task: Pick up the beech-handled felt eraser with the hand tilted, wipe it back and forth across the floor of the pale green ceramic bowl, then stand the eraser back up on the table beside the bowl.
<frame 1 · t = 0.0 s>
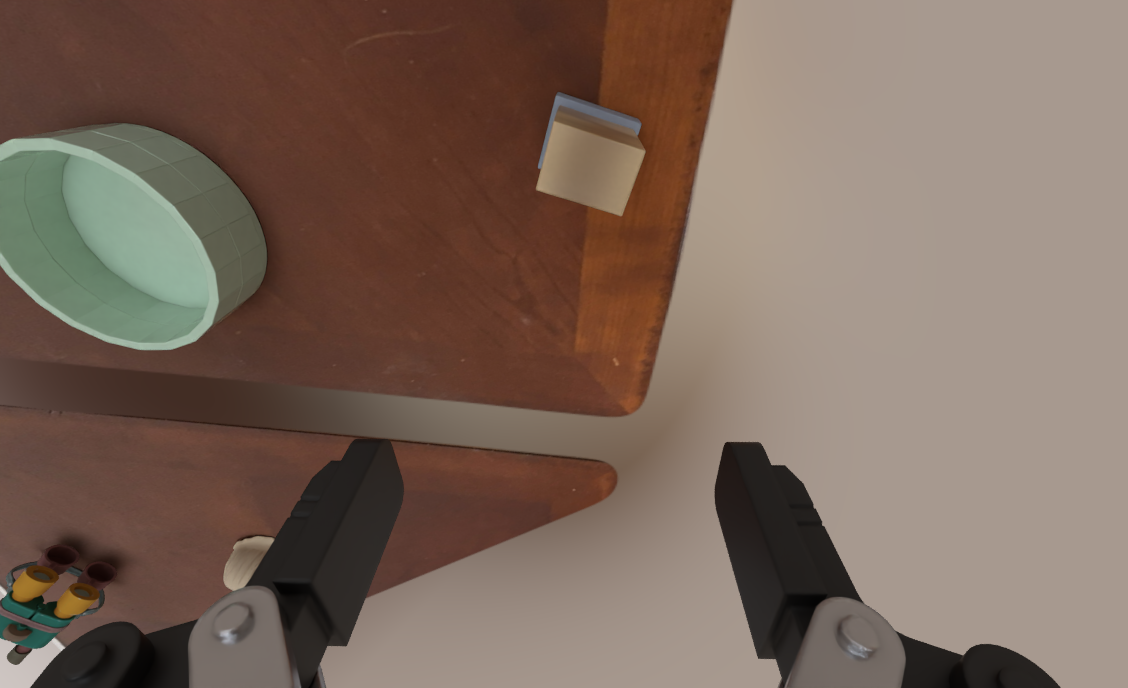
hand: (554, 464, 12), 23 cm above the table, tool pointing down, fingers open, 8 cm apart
binoculars: (90, 555, 55), on the table
decorative ornament: (275, 547, 53), on the table
eraser: (588, 140, 29), on the table
bowl: (168, 227, 33), on the table
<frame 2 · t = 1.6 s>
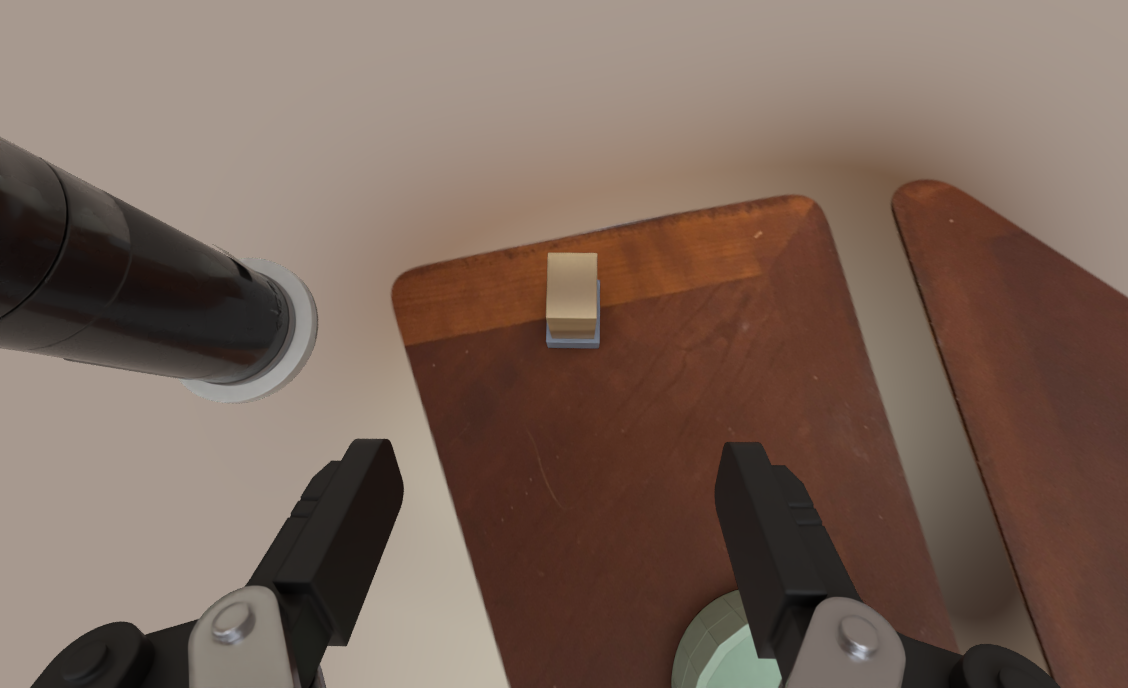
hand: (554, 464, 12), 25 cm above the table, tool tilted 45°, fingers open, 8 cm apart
eraser: (573, 317, 38), on the table
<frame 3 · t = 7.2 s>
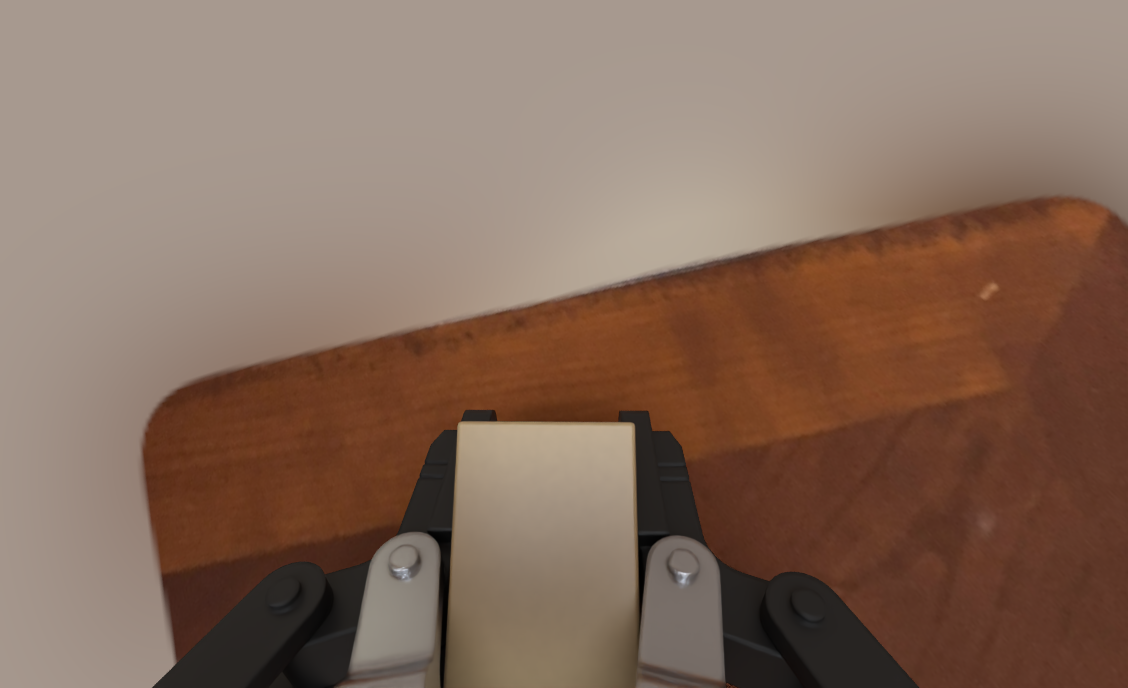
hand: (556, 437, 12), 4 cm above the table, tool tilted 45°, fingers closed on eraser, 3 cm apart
eraser: (563, 500, 16), on the table, touching gripper
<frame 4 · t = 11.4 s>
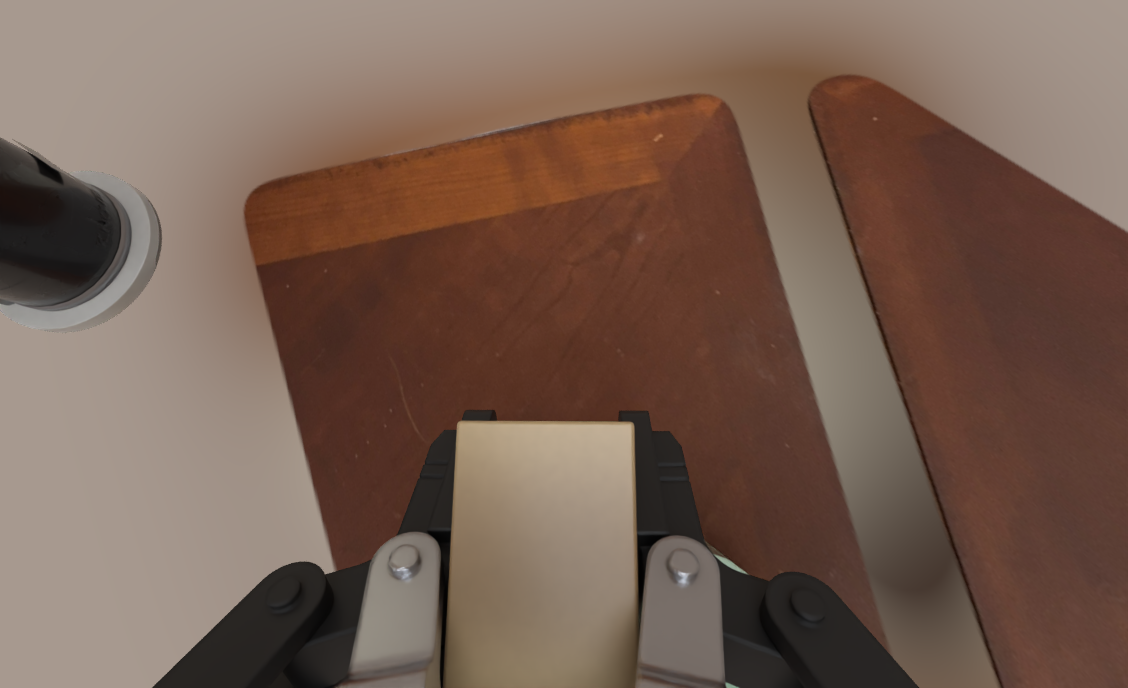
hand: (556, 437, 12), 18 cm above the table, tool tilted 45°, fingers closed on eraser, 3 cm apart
eraser: (563, 500, 16), point 14 cm above the table, touching gripper
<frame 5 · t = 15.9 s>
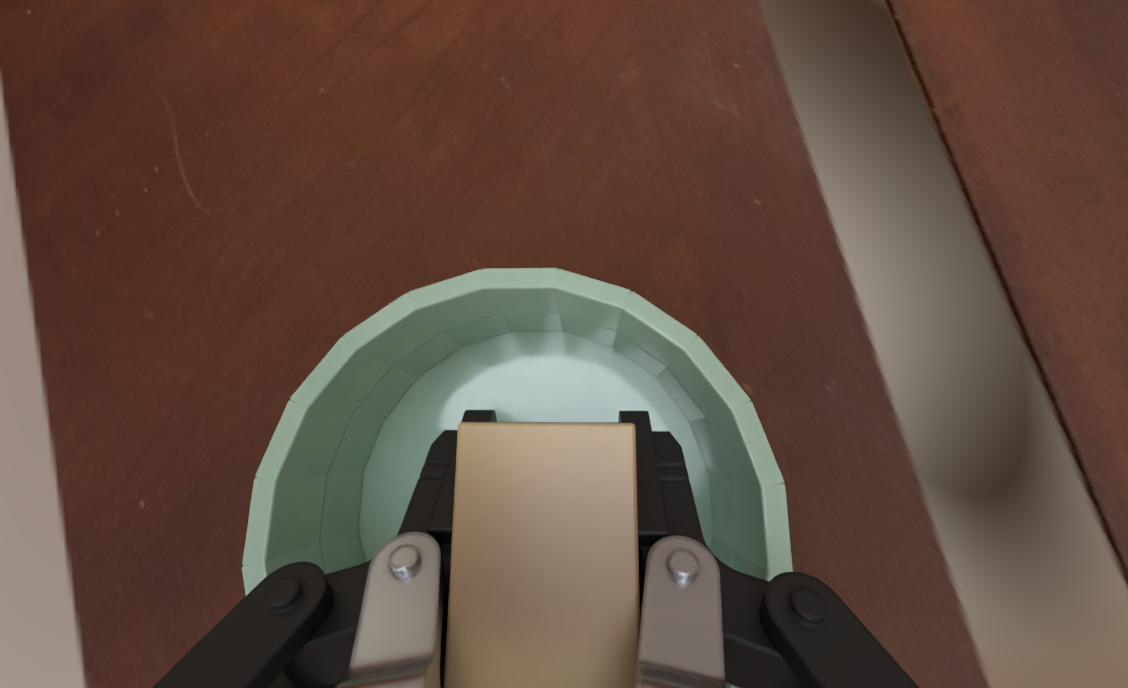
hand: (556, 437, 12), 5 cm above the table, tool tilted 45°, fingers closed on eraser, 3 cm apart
eraser: (563, 500, 16), point 1 cm above the table, touching gripper
bowl: (535, 500, 17), on the table
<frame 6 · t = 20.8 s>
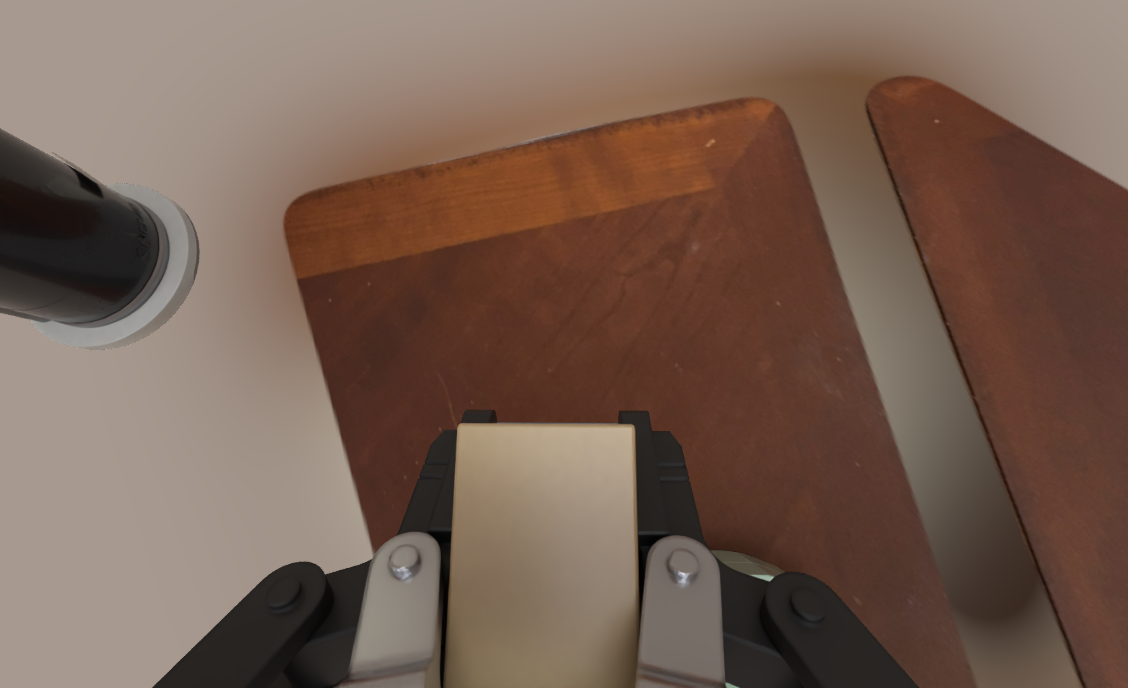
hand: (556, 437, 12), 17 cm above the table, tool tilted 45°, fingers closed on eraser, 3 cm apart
eraser: (563, 501, 16), point 13 cm above the table, touching gripper
bowl: (723, 677, 26), on the table
when the fingers open (4 cm above the table, at t = 24.7 s): eraser stays where it is, on the table.
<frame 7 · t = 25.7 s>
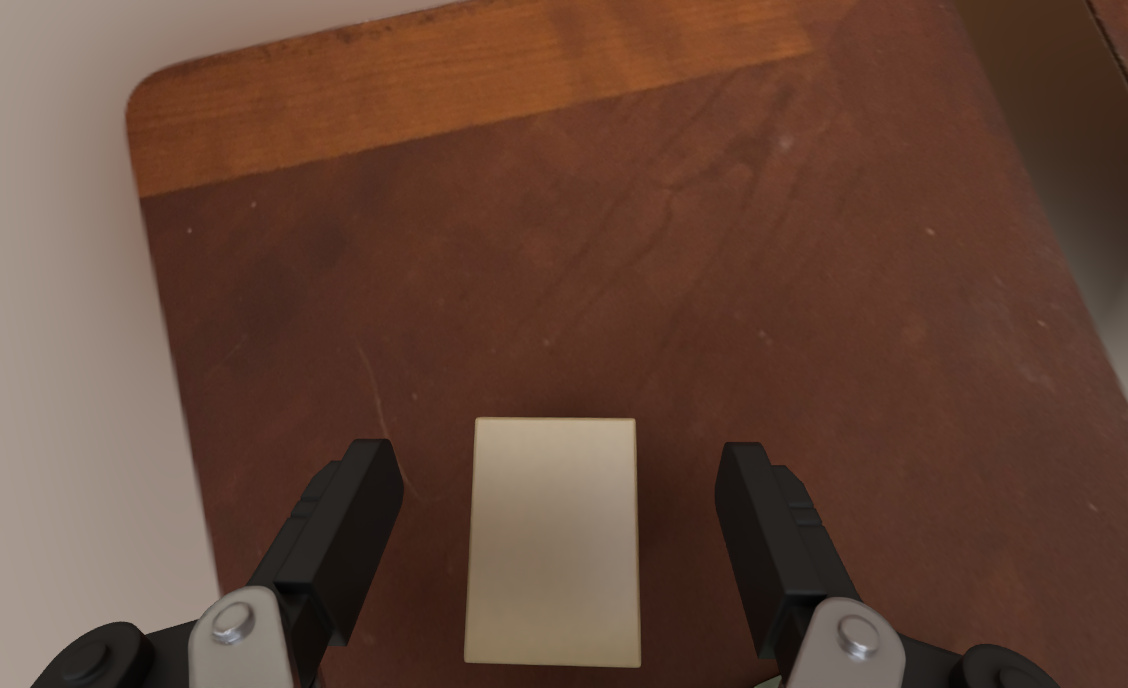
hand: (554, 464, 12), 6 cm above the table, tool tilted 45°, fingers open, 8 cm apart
eraser: (568, 494, 17), on the table
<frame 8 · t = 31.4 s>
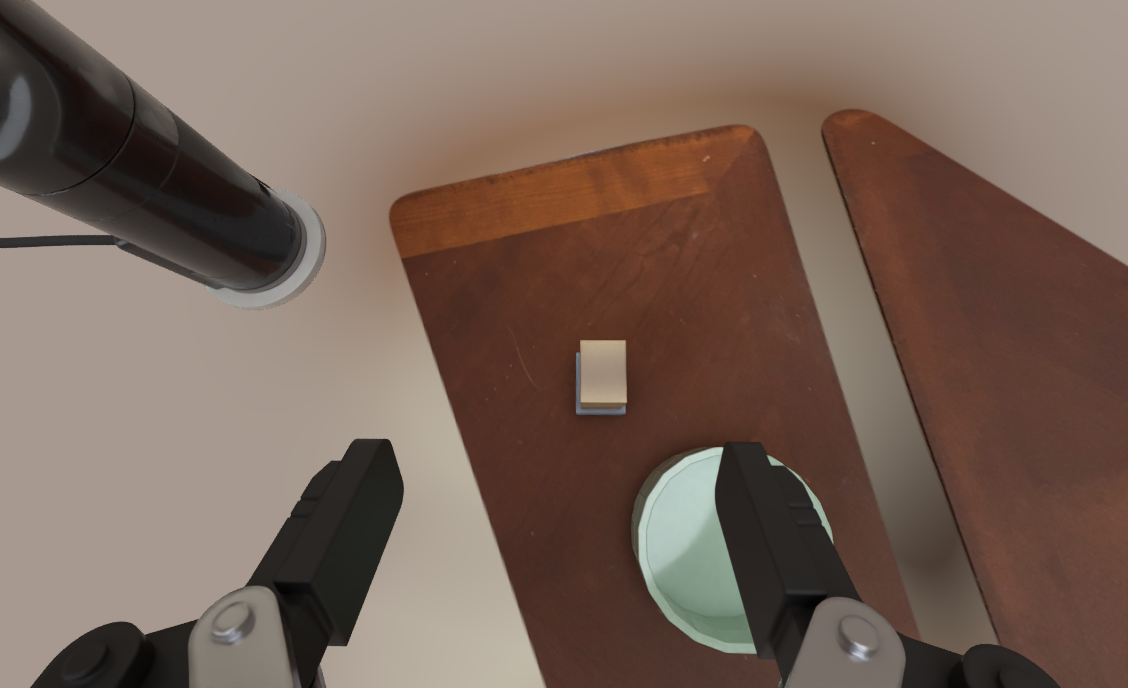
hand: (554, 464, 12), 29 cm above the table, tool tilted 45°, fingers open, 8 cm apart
eraser: (599, 385, 41), on the table
bowl: (713, 531, 38), on the table
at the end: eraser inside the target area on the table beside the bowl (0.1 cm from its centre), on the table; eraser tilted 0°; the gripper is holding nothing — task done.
